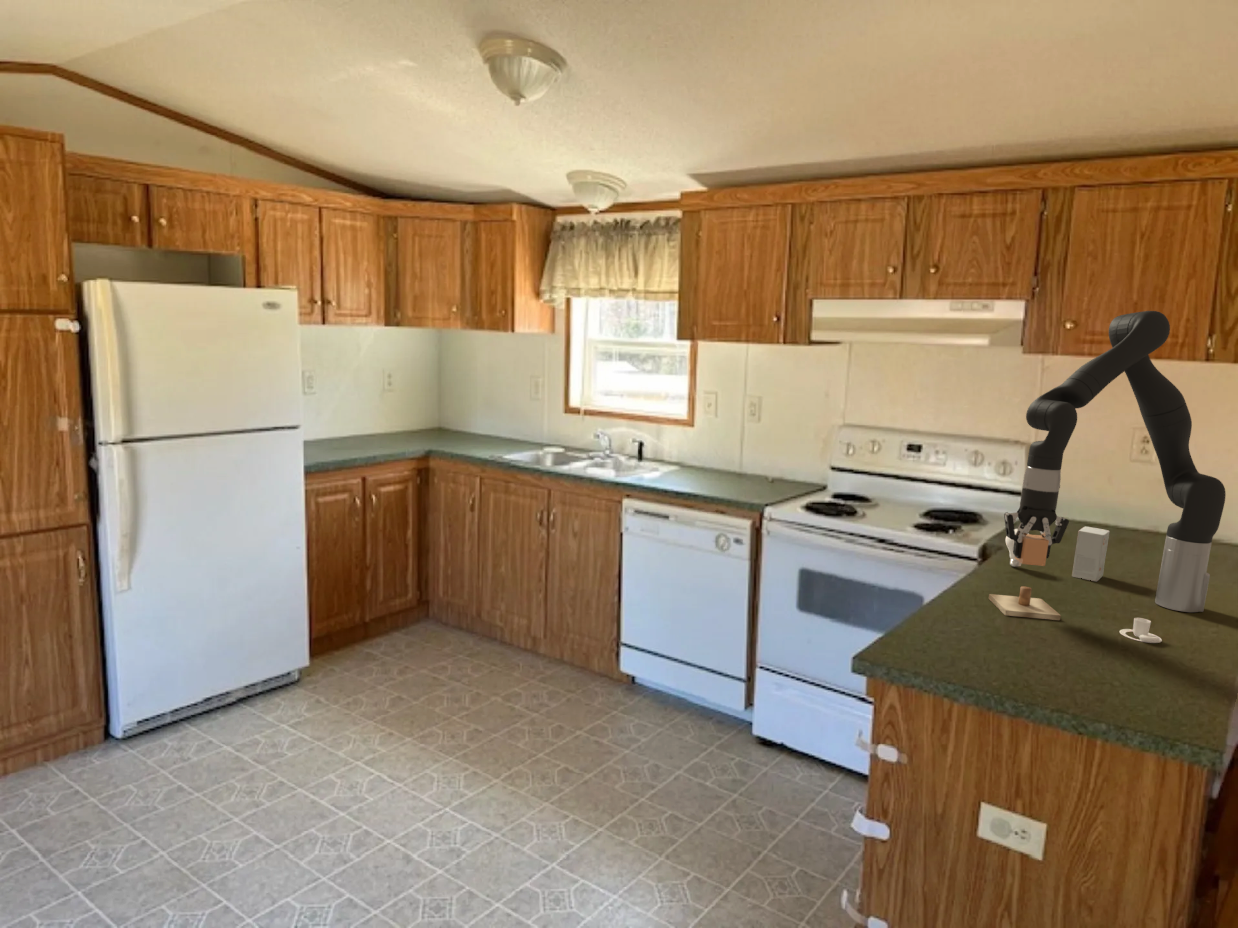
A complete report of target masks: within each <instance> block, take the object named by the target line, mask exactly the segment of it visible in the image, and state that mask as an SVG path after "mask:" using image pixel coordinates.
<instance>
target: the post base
mask: <svg viewBox="0 0 1238 928" xmlns="http://www.w3.org/2000/svg"><path fill="white" fill-rule="evenodd" d="M1019 589H1020V590H1019V596H1016V595H1004V594H993V593H989V594H988V600H989V601H991V603H992V604H993V605H994V606H996V608H997V609H998V610H999V611H1000V612H1001V613H1002V615H1004V616H1009V617H1010V616H1011V617H1022V618H1030V619H1042V620H1051V621H1052V620H1053V621H1061V617H1062V615H1061V614H1060V613H1059V612H1058V611H1056V610H1055V609H1054V608H1053V607H1051V606H1050V604H1049V603H1047V602H1045V601H1044V599H1043V598H1038V597H1037V598H1036V597H1031V596H1032V591H1033V589H1032V587H1029V586H1025V585H1024V586H1023V585H1022V586H1020V588H1019Z"/></svg>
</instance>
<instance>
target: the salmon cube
mask: <svg viewBox="0 0 1238 928" xmlns="http://www.w3.org/2000/svg"><path fill="white" fill-rule="evenodd" d="M1022 543H1023V547H1022V553H1021V558H1016V557H1015V559H1017V560H1018V561H1019V562H1020V563H1021V565H1032V566H1042V567H1045V566H1046V562H1047V558H1046V556H1047V550H1048V543H1049V540H1047V539H1045V538H1044V537H1042V535H1041V534H1030V533H1029V534H1027V535H1026V536H1025V537H1024V540H1023V541H1022Z"/></svg>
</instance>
